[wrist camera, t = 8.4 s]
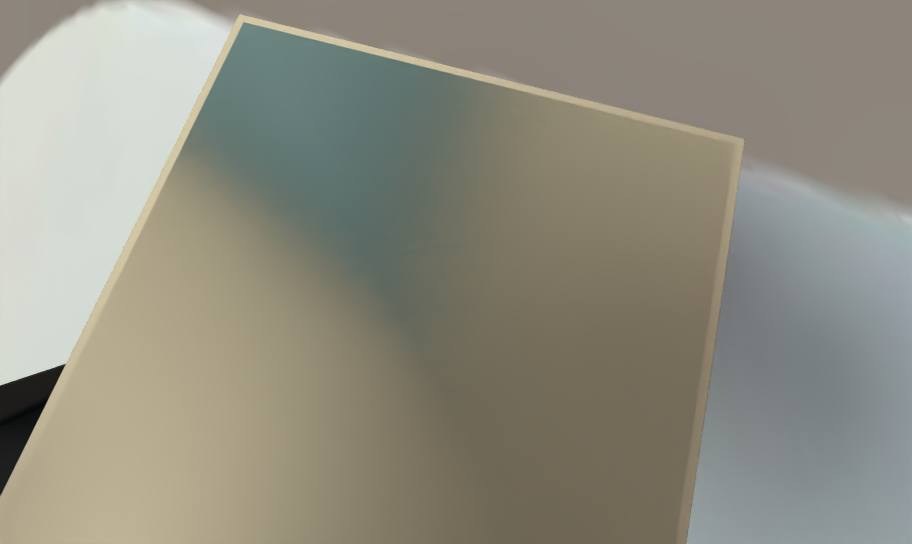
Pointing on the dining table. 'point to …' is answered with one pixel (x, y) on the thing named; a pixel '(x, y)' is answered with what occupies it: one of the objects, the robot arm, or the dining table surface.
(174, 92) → the dining table surface
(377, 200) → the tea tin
